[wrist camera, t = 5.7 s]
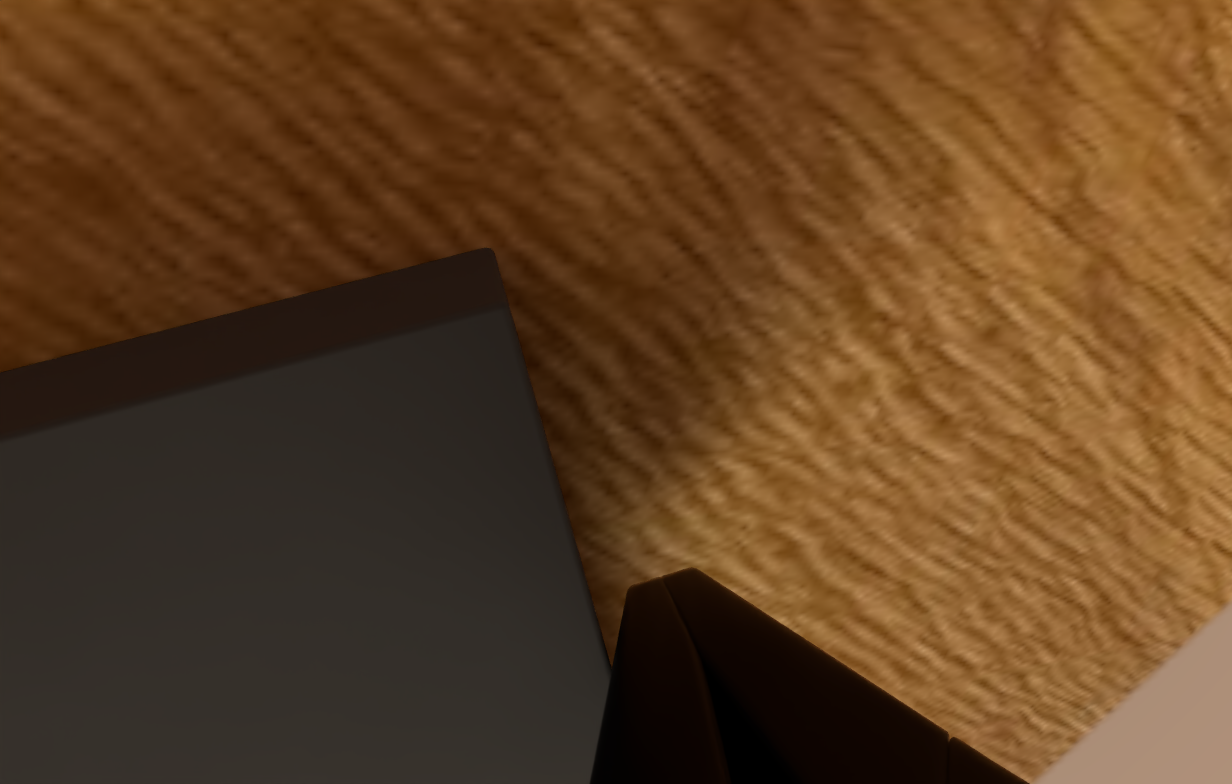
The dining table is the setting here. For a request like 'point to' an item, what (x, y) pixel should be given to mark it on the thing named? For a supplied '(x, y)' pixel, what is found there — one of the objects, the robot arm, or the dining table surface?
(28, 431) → the dark grey tabbed block
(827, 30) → the dining table surface
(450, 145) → the dining table surface
